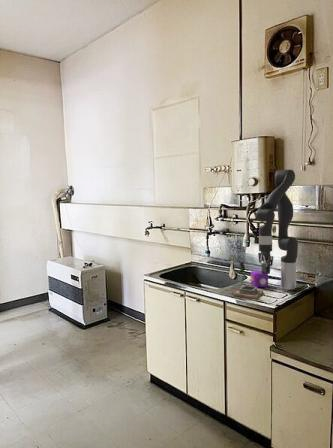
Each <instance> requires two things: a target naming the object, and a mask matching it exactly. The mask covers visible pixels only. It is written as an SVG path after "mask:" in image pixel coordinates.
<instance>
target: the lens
mask: <svg viewBox="0 0 333 448" xmlns="http://www.w3.org/2000/svg"><path fill="white" fill-rule="evenodd" d="M267 264H268V262H267ZM260 265H261V266H260V268H261V269H260V270H261V273H262V274H268V275H270V274H271V272H270V273H266V263H265V262H264V261H261V263H260Z"/></svg>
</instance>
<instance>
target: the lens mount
mask: <svg viewBox="0 0 333 448" xmlns="http://www.w3.org/2000/svg"><path fill="white" fill-rule="evenodd" d="M263 294H264V290H263V289H258V287H254V286H253V285H247V284H246V285H242V286H241V287H240V288H239V289H238V290H236V291H235V292H234V293H232V296H233V297H237V296H239V297H238V298H246V299H252V300H257V299H258V298H259V297H260V296H262V295H263Z"/></svg>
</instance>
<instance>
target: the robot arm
mask: <svg viewBox="0 0 333 448" xmlns="http://www.w3.org/2000/svg"><path fill="white" fill-rule="evenodd" d="M295 180H296V174H295V171H294V170H293V169H279V170H276V171H275V174H274V183H275V189H274V190H272V192H271V193H270V194H269V195H268V197H267V198H266V200H265V202H264V203H263V204H261V206H260V207H259V208H258V209H257V211H256V214H255V217H256V218H255V219H257V221H259V222H265V224H263V225H260V226H259V228H258V230H259V233H258V251H259V252H258V253H257V257H258V263H259V264H261V261H264V262H265V263H266V273H270V274H271V267H272V266H273V264H274V256H273V255H271V252H273V237H272V232H273V231H272V230H273V224H274V222H275V221H274V220H275V218H276V217H275V216H276V214H275V211H274V210H276V209H277V219H278V222H277V223H278V226H277V227H278V229H277V230H278V231H277V235H278V237H277V245H278V248H279V250H281V251H286V253H285V255H282V256H281V257H280V288H281V289H282V290H286V291H287V290H288V291H290V290H291V291H293V289H294V290H296V289H297V258H298V252H299V251H298V250H299V241H298V239H297V238H296V237H294V236H293V237H292V236H289V234H288V233H289V231H288V229H289V226H290V224H291V223H292V220H293V218H294V206H293V203H292V200H291V199H290V198H289V197H288V195H287V191H288V190H289V189H290V188H291V186H292V185H293V184H294V182H295ZM267 262H268V264H267ZM295 288H296V289H295Z"/></svg>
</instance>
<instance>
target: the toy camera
mask: <svg viewBox="0 0 333 448" xmlns="http://www.w3.org/2000/svg"><path fill="white" fill-rule="evenodd" d="M250 284H251V286H254V287H257V288H267V287H269V274H262V273H261V269H260V270H252V271H251V272H250Z"/></svg>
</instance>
